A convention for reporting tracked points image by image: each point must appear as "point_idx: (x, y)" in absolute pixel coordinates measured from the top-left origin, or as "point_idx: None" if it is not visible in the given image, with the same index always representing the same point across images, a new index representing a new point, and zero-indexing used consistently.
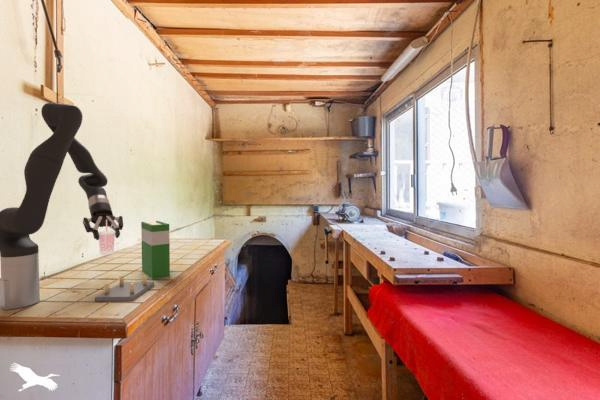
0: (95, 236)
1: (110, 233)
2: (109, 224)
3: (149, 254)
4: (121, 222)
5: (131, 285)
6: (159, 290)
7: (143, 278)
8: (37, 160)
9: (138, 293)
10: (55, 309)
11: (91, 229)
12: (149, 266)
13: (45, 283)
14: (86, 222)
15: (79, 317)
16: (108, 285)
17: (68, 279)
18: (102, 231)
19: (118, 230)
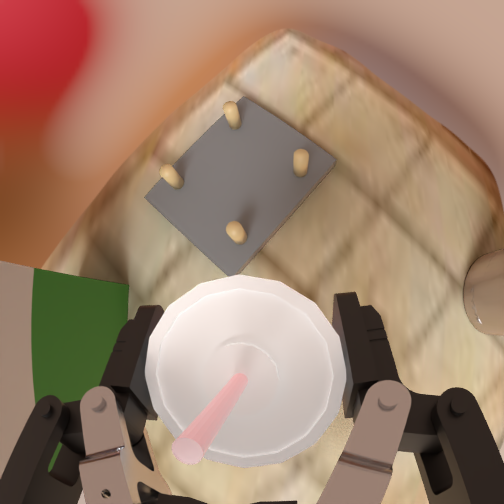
0: (370, 306)
1: (217, 283)
2: (166, 499)
3: (69, 321)
4: (26, 450)
5: (234, 104)
6: (158, 142)
7: (174, 169)
8: None
9: (220, 119)
10: (423, 174)
11: (422, 399)
12: (103, 323)
13: None
14: (498, 493)
15: (366, 83)
16: (296, 152)
17: None
18: (275, 453)
19: (113, 366)
